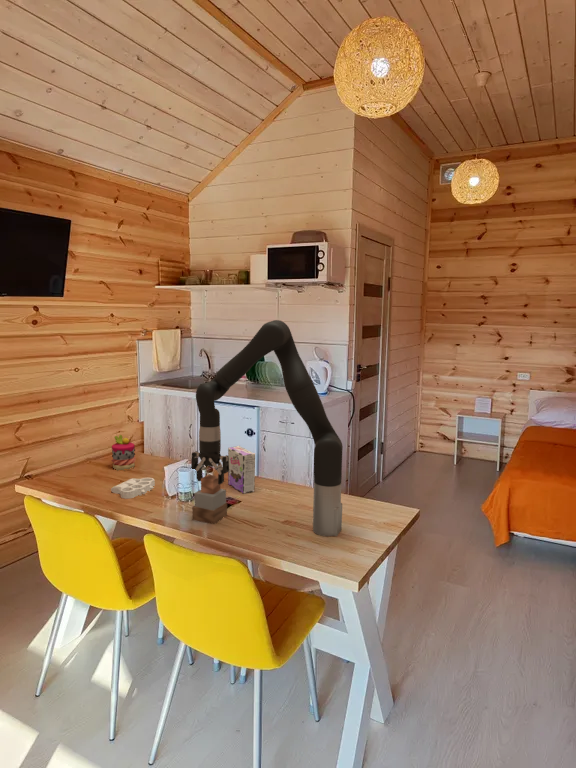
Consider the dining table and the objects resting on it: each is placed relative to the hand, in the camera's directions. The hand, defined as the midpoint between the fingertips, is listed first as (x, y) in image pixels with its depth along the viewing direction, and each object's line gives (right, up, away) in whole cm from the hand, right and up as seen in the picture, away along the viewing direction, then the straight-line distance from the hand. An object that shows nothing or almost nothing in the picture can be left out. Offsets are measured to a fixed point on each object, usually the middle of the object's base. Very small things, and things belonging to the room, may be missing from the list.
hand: (210, 482), depth 183 cm
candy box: (+8, -9, +33) cm, 35 cm away
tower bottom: (0, -13, +2) cm, 13 cm away
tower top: (0, -8, +1) cm, 8 cm away
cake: (-49, -4, +58) cm, 76 cm away
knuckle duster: (-35, -9, +28) cm, 46 cm away
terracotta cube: (0, -3, +1) cm, 3 cm away
